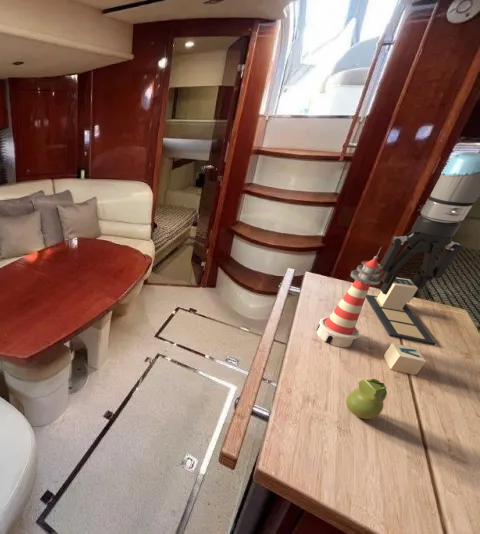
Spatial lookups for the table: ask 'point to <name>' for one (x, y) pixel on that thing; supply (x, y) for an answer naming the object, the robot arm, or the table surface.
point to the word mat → (400, 322)
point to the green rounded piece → (367, 399)
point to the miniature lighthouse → (350, 307)
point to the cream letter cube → (404, 359)
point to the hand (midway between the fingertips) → (395, 293)
